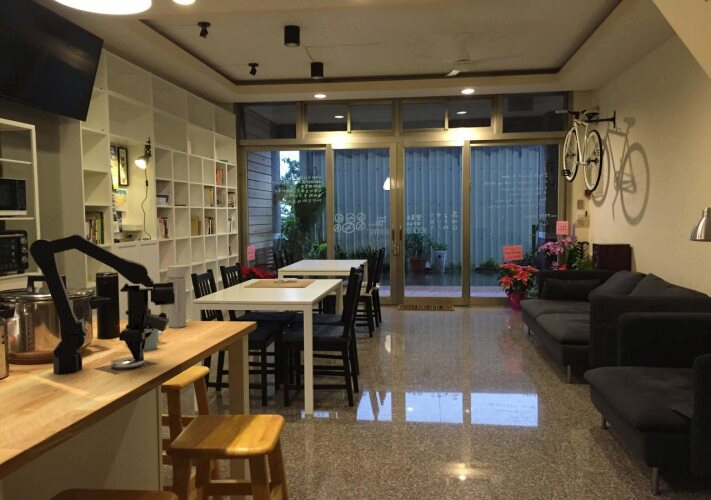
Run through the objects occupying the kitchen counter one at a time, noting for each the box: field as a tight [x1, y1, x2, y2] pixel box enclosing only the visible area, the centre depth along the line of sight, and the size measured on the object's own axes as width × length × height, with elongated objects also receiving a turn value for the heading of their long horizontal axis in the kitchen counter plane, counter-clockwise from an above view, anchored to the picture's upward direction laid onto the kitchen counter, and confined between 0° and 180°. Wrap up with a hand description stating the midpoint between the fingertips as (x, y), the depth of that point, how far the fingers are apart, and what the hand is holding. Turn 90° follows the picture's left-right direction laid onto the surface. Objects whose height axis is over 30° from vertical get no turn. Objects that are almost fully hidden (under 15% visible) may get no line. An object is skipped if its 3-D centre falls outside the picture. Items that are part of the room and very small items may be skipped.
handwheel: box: [110, 349, 145, 369], centre depth 164 cm, size 9×9×4 cm
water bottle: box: [165, 265, 187, 329], centre depth 230 cm, size 9×8×25 cm
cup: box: [144, 329, 159, 352], centre depth 187 cm, size 8×8×10 cm
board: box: [93, 359, 159, 375], centre depth 165 cm, size 14×11×1 cm
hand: (138, 359), depth 165 cm, fingers open, 4 cm apart
